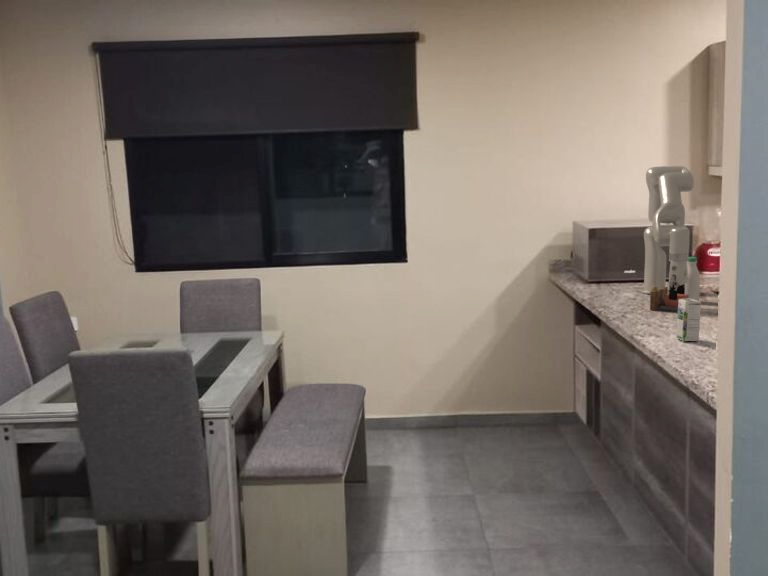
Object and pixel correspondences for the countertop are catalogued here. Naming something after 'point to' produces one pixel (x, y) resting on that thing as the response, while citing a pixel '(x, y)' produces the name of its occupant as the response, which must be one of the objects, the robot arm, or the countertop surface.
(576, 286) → the countertop surface
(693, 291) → the milk bottle
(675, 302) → the red block
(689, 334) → the syrup box
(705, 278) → the countertop surface
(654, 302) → the door board
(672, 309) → the tray
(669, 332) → the countertop surface
